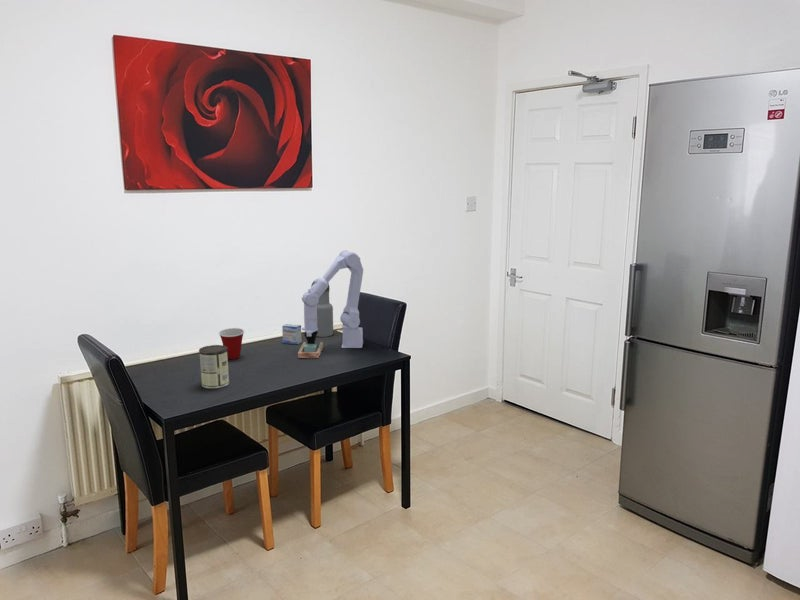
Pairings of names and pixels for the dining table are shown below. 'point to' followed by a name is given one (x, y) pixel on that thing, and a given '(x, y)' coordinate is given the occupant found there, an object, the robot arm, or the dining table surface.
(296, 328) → the medicine box
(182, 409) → the dining table surface
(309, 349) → the block
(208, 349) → the coffee can
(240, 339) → the plastic cup
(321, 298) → the water bottle
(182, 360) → the dining table surface
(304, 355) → the wooden tray
